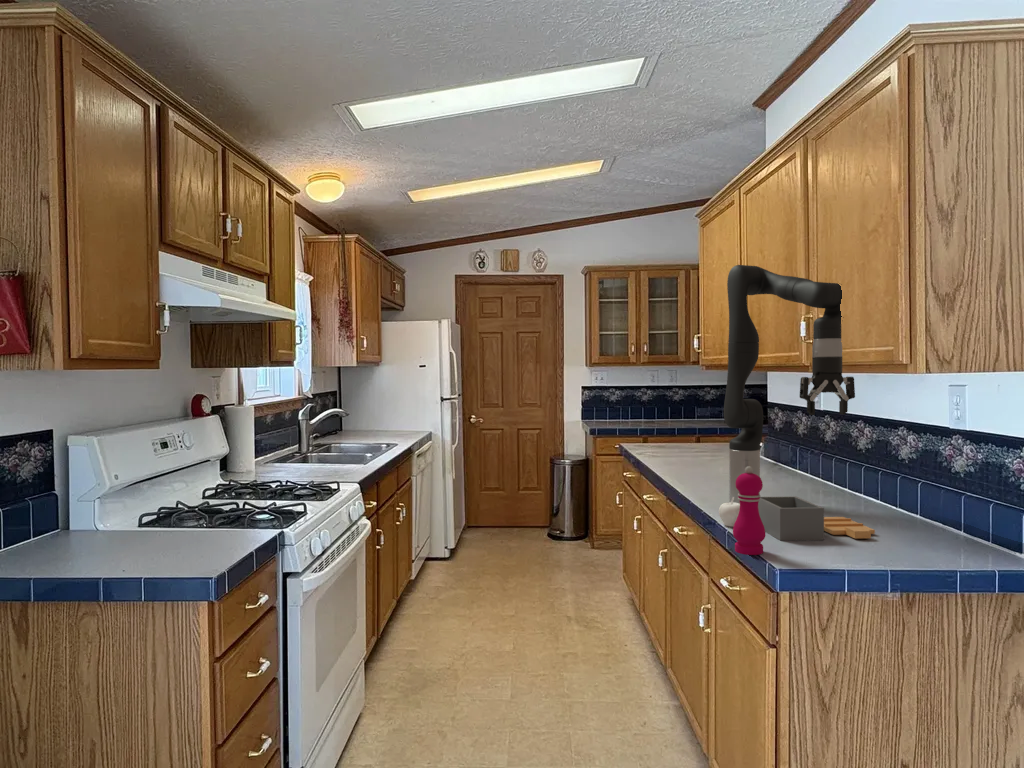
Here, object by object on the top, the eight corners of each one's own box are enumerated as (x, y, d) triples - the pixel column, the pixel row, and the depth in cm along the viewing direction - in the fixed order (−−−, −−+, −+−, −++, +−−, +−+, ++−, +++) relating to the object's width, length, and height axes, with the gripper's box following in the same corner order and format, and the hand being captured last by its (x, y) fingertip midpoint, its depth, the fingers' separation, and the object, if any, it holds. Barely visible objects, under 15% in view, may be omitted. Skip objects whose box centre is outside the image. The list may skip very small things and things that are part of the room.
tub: (755, 526, 186) (755, 496, 186) (795, 525, 187) (795, 496, 187) (780, 540, 170) (780, 508, 170) (823, 540, 171) (823, 508, 171)
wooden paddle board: (804, 523, 191) (804, 514, 191) (843, 523, 191) (843, 513, 191) (840, 541, 170) (840, 531, 170) (884, 541, 171) (884, 530, 171)
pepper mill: (726, 549, 162) (726, 465, 162) (749, 546, 165) (750, 463, 165) (747, 557, 155) (747, 469, 155) (772, 553, 158) (772, 467, 158)
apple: (725, 528, 184) (725, 499, 183) (714, 523, 191) (714, 494, 190) (750, 528, 184) (750, 498, 184) (739, 522, 191) (739, 493, 191)
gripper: (845, 355, 192) (845, 413, 192) (795, 356, 192) (795, 414, 192) (860, 355, 184) (859, 415, 185) (807, 355, 184) (807, 415, 184)
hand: (827, 414), depth 188 cm, fingers open, 8 cm apart
